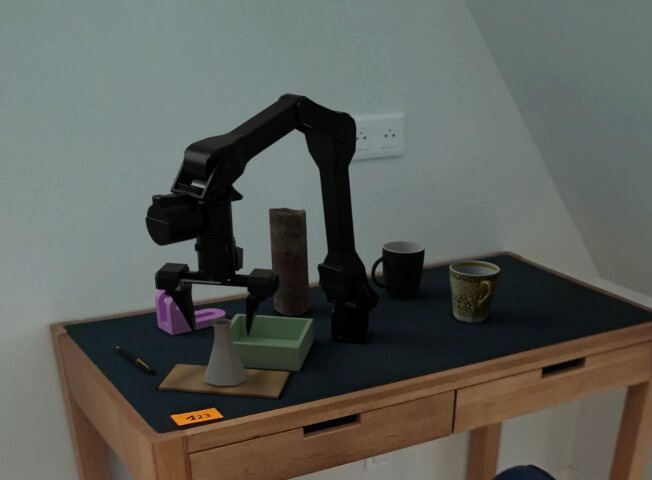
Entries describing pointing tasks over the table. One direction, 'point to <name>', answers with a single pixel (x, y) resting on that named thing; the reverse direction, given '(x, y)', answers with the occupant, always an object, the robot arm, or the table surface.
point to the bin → (272, 341)
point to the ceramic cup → (473, 289)
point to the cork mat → (254, 386)
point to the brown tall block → (290, 260)
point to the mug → (401, 268)
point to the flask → (224, 358)
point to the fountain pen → (135, 360)
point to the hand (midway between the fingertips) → (221, 332)
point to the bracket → (181, 316)
